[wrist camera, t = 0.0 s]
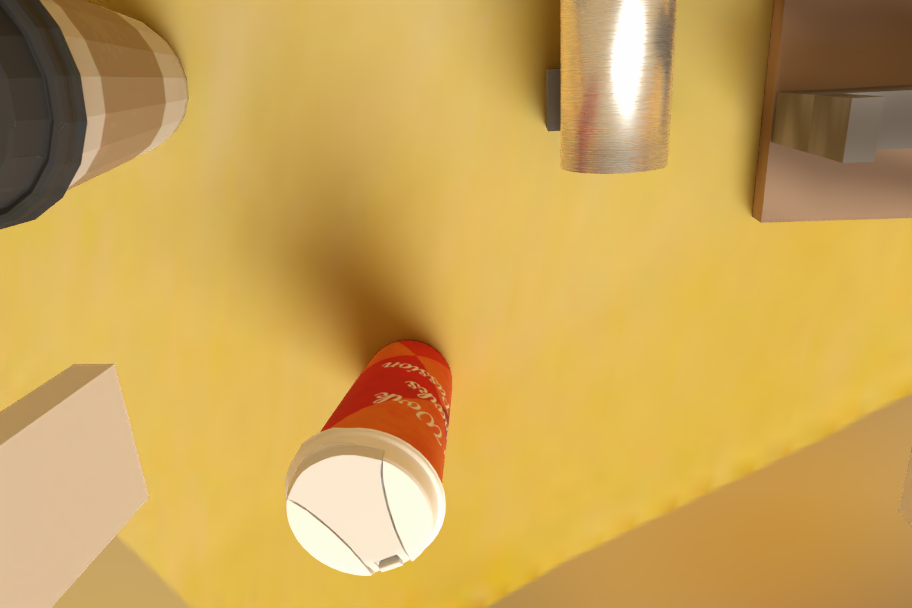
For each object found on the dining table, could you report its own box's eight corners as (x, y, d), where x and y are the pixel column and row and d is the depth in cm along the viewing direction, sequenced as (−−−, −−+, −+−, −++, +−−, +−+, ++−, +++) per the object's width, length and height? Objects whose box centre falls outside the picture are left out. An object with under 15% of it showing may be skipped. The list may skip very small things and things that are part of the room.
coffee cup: (-1, 32, 37) (-323, 9, 23) (156, -63, 34) (-99, -155, 20) (108, 211, 40) (-116, 286, 26) (259, 136, 38) (101, 175, 24)
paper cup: (488, 404, 42) (471, 554, 29) (388, 444, 44) (330, 603, 31) (433, 303, 40) (387, 415, 27) (330, 350, 42) (241, 477, 29)
